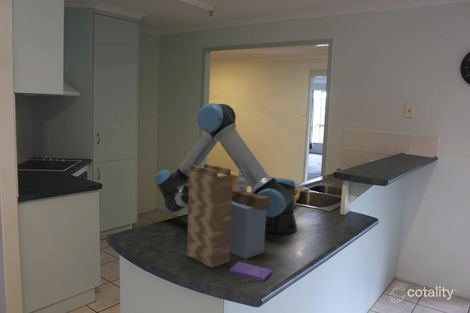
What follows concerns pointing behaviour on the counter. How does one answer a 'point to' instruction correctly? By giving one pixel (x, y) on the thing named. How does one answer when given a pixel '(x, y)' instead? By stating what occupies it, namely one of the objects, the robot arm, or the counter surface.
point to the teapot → (297, 195)
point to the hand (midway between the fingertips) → (215, 179)
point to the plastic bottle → (241, 182)
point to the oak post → (209, 214)
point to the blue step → (247, 230)
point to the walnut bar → (250, 199)
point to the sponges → (250, 271)
